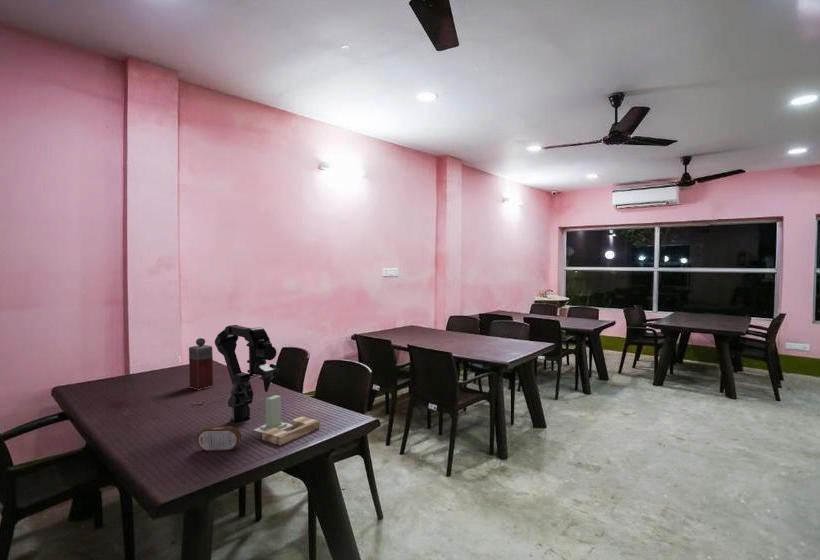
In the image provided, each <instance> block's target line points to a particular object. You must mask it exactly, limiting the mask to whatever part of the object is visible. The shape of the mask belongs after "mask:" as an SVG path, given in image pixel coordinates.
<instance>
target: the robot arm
mask: <svg viewBox="0 0 820 560" xmlns="http://www.w3.org/2000/svg"><path fill="white" fill-rule="evenodd" d="M240 337H241V338H244V340H245V342H247V344H246V347H248V359H247V360H246V361H247V364H249V365H248V366H249V367H248V368H249V369H247V371H246V372H247V373H245V372H242V369H241V367H240V363H239V360H238V356H237V354H236V349H237V346H238V345H237V344H238V343H237V342H238V340H239V338H240ZM214 345H215V347H216V349H217V352H219V353H220V354H221V355H222V356H223V357H224V358H223V359H224V361H225V364H226V368H227V371H228V373H229V378H230V381H231V384H232V388H231V390H230V397H229V399H228V401H227V405H228V406H227V407H228V408H231V417H230V419H231V420H232V421H233V422H234V423H238V422H242V421H246V420H250V419H251V408H250V406H249V405H250V404H252V403H253V401H254V400H253V399H254V391H253V388H252V385H251V381H250V380H251V379H253V378H255V377H261V378H262V381H263V388H264V392H265V393H268V391H269V388H270V385H271V382H272V380H273V378H275V377H276V376H277V375H279V374H280V370H279V368H278V367H277V364H276V362H273V363H270V364H267V361H272V360H273V359H275V358H276V356H277V349H276V347H275V346H273V343H271V340H270V337H269V335H268V333H267V331H266V329H265V328H264V327H263V326H259V327H248V326H247V327H246V326H241V325H238V324H233V325H227V326H225V328H224V329H223V330H222V331H220V332H219V333H218V334H217V335H216V337H215V338H214Z"/></svg>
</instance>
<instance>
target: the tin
mask: <svg viewBox="0 0 820 560" xmlns="http://www.w3.org/2000/svg"><path fill="white" fill-rule="evenodd" d="M196 437H197V438H196V439H197V440H196V442H197V445H198V447H199V448H200V449H202V450H203V451H207V452H220V451H221V452H222V451H223V452H228V450H229V451H232V450H234V449H236V448H237V447H238V446H239V445H240V443H241V441H242V433H241V431H240V430H239V429H238V428H237V427H235V426H232V425H219V426H218V425H217V426H215V425H211V426H210V425H208V426H206V427H203V429H201V431H200V432H199V433H198V434H197V436H196Z"/></svg>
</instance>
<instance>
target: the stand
mask: <svg viewBox="0 0 820 560" xmlns="http://www.w3.org/2000/svg"><path fill="white" fill-rule="evenodd" d="M291 425H292V427H291V428H293V429H290V430H288V431H286V430H280V429H277V428H270V429H268V430H265V431H263V432H262V433H261V439H262V441H265V442H269V443H272V444H275V445H277V444H278V446H283V445H285V444H287V443H290V442H292V441H294V440H296V439H298V438H300V436H301V437H303V436H305V435H308V434H310V433H311V431H312V432H314V431H316V430H318V428H319V427H321V426H320V425H321V424H320V420H318V419H314V418H310V417H305V416H299V417H296V418H294V419H292V420H291ZM315 429H316V430H315ZM319 429H320V428H319ZM313 430H314V431H313ZM309 432H310V433H309ZM304 434H305V435H304ZM302 435H303V436H302ZM293 439H294V440H293ZM291 440H292V441H291ZM282 444H283V445H282Z"/></svg>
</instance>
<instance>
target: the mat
mask: <svg viewBox="0 0 820 560" xmlns="http://www.w3.org/2000/svg"><path fill="white" fill-rule="evenodd" d="M282 422H283V421H282ZM283 423H285V422H283ZM286 423H287V422H286ZM290 428H293V427H292V423H291V424H290V423H287V426H286V427H284V428H281V429H280V430H284V431H286V430H288V429H290ZM263 431H265V430H262V429H260V427H258V428H255V429H253V432H255V433H256V432H257V433H260V434H262V432H263Z"/></svg>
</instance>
